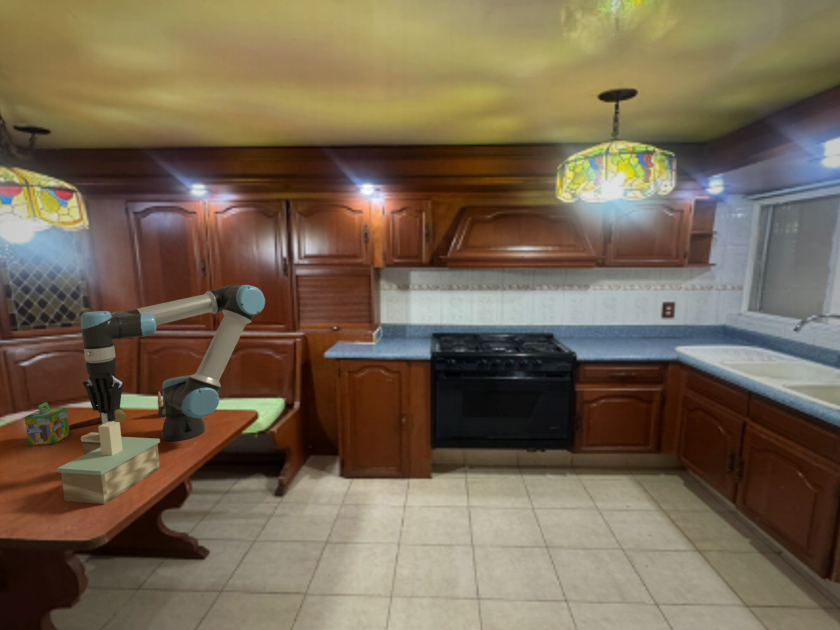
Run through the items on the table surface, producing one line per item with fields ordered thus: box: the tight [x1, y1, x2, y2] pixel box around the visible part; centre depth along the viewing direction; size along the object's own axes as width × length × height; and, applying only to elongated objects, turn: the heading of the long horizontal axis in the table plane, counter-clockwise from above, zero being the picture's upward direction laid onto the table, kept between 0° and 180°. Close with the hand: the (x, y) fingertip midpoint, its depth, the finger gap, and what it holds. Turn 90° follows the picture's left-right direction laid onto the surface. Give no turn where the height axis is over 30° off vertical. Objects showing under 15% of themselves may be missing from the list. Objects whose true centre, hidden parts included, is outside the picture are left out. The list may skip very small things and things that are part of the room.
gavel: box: [69, 406, 127, 431], centre depth 171 cm, size 21×5×10 cm
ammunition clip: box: [157, 391, 165, 419], centre depth 180 cm, size 11×2×12 cm, turn 131°
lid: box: [56, 422, 161, 475], centre depth 121 cm, size 21×14×11 cm, turn 172°
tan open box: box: [60, 442, 161, 505], centre depth 123 cm, size 20×22×10 cm
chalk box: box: [23, 401, 71, 447], centre depth 154 cm, size 9×9×15 cm
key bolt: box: [80, 423, 102, 443], centre depth 130 cm, size 4×8×6 cm, turn 82°
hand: (109, 430), depth 130 cm, fingers closed
